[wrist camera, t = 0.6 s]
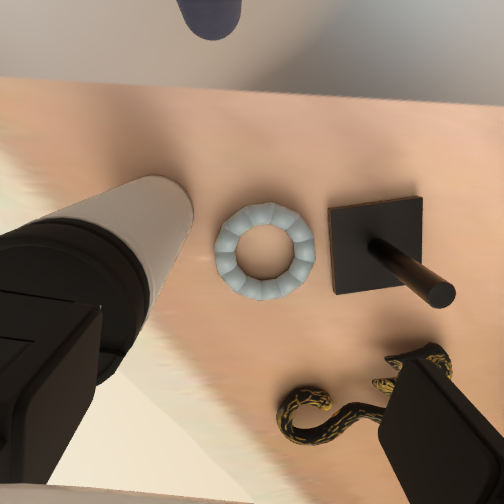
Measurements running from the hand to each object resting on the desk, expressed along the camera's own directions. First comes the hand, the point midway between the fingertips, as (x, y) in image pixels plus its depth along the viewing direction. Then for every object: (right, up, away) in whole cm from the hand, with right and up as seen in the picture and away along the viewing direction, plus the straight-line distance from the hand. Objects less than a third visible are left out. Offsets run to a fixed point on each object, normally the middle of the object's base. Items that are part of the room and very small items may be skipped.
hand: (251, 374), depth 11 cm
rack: (+11, +4, +21) cm, 25 cm away
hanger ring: (+1, +4, +20) cm, 20 cm away
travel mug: (-8, +7, +20) cm, 23 cm away
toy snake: (+11, -10, +26) cm, 30 cm away
